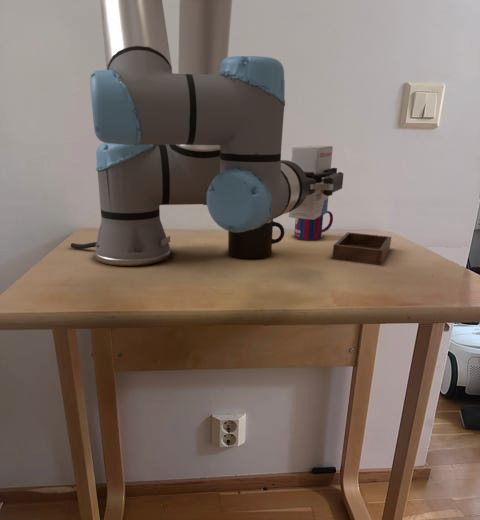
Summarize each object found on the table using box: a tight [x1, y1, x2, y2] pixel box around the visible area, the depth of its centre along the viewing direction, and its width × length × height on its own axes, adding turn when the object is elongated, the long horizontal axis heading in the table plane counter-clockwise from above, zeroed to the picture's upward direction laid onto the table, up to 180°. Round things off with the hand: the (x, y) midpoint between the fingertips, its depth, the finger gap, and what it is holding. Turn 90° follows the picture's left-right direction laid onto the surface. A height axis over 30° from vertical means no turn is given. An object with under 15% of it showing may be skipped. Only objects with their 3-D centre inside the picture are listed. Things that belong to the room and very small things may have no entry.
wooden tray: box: [331, 231, 392, 266], centre depth 107 cm, size 10×14×3 cm
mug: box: [227, 219, 285, 260], centre depth 104 cm, size 9×12×9 cm
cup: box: [293, 210, 334, 241], centre depth 121 cm, size 7×10×7 cm
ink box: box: [288, 145, 334, 220], centre depth 85 cm, size 8×5×12 cm, turn 153°
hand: (318, 174), depth 89 cm, fingers closed on ink box, 5 cm apart
